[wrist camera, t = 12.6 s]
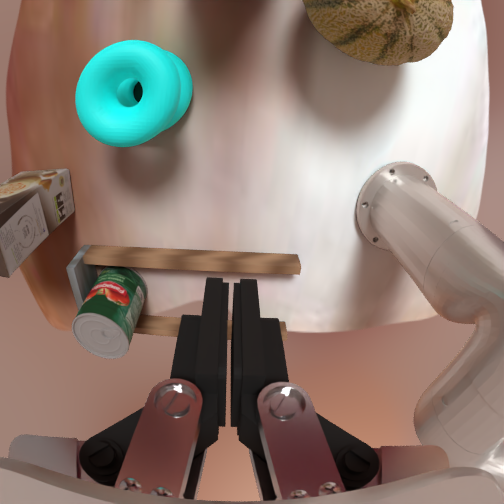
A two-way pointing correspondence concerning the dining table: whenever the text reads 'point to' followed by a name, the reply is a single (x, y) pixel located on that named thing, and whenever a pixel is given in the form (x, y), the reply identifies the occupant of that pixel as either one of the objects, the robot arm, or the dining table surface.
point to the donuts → (121, 93)
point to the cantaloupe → (383, 27)
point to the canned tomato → (110, 312)
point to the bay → (181, 259)
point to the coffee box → (31, 213)
